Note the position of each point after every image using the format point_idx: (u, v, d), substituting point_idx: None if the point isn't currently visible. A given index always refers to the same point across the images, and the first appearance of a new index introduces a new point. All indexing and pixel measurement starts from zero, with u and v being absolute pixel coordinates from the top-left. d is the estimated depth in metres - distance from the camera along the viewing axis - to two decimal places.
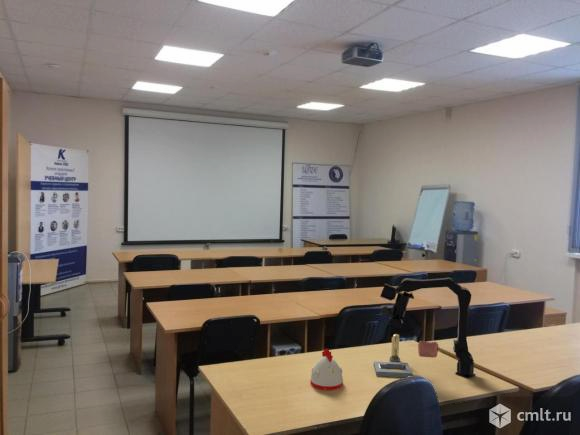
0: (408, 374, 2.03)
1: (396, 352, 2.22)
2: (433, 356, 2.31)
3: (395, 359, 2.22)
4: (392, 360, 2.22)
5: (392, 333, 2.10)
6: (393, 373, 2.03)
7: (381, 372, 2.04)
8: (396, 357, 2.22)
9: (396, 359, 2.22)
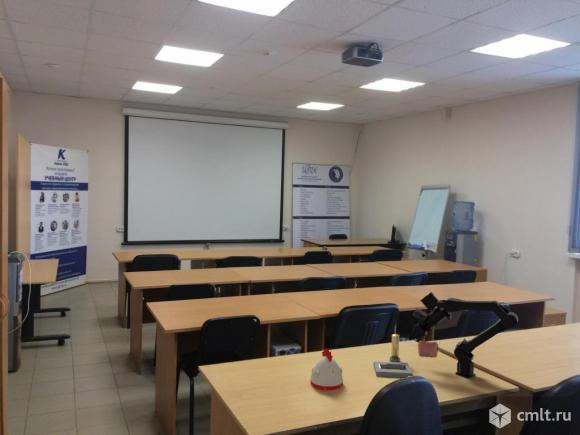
0: (408, 374, 2.03)
1: (396, 352, 2.22)
2: (433, 356, 2.31)
3: (395, 359, 2.22)
4: (392, 360, 2.22)
5: (412, 337, 2.14)
6: (393, 373, 2.03)
7: (381, 372, 2.04)
8: (396, 357, 2.22)
9: (396, 359, 2.22)
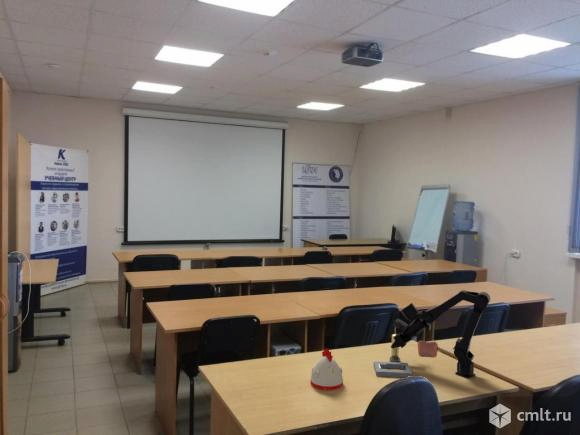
0: (408, 374, 2.03)
1: (396, 352, 2.22)
2: (433, 356, 2.31)
3: (395, 359, 2.22)
4: (392, 360, 2.22)
5: (394, 346, 2.21)
6: (393, 373, 2.03)
7: (381, 372, 2.04)
8: (396, 357, 2.22)
9: (396, 359, 2.22)
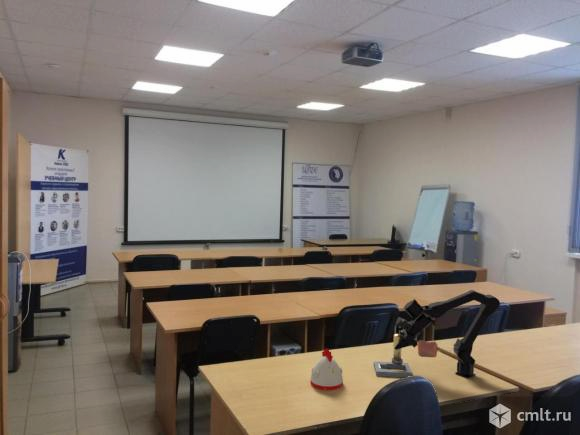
0: (408, 374, 2.03)
1: (400, 353, 2.08)
2: (433, 356, 2.31)
3: (399, 360, 2.08)
4: (396, 362, 2.07)
5: (399, 346, 2.07)
6: (393, 373, 2.03)
7: (381, 372, 2.04)
8: (400, 358, 2.08)
9: (400, 360, 2.08)
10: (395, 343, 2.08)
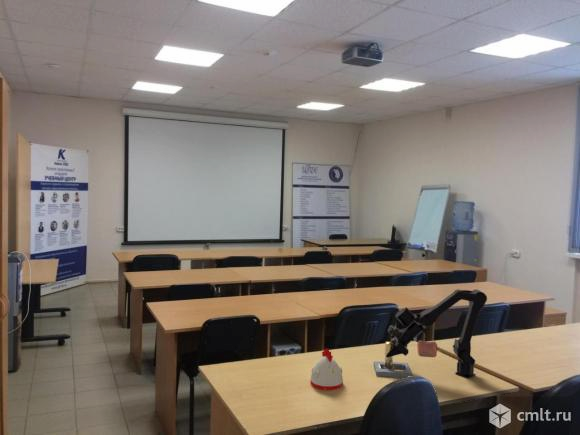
0: (408, 374, 2.03)
1: (391, 361, 2.09)
2: (433, 356, 2.31)
3: (390, 368, 2.08)
4: None
5: (390, 354, 2.07)
6: (393, 373, 2.03)
7: (381, 372, 2.04)
8: (391, 366, 2.09)
9: (391, 368, 2.08)
10: (386, 351, 2.09)
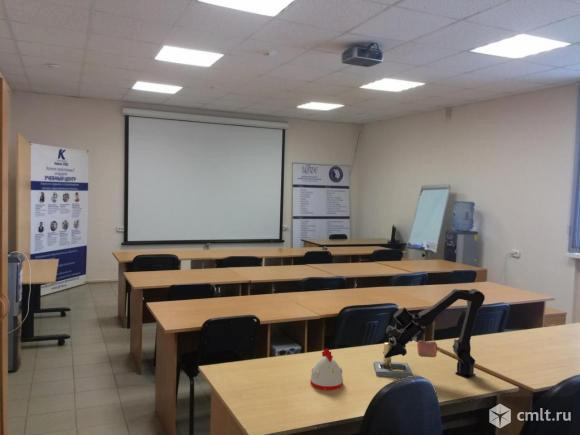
0: (408, 374, 2.03)
1: (390, 361, 2.09)
2: (433, 356, 2.31)
3: (389, 369, 2.08)
4: None
5: (389, 355, 2.07)
6: (393, 373, 2.03)
7: (381, 372, 2.04)
8: (390, 367, 2.09)
9: (390, 369, 2.08)
10: (385, 352, 2.09)
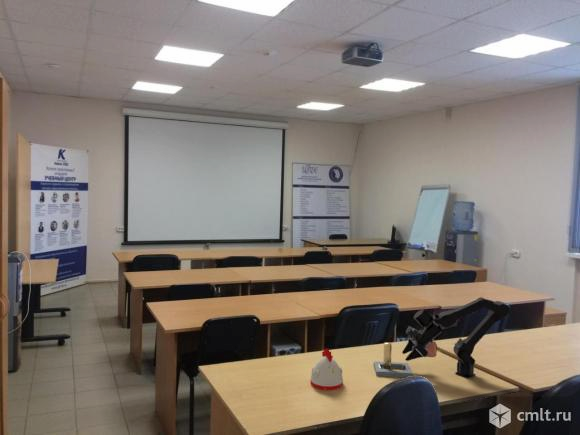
0: (408, 374, 2.03)
1: (390, 361, 2.09)
2: (432, 356, 2.31)
3: (389, 369, 2.08)
4: None
5: (410, 358, 2.04)
6: (393, 373, 2.03)
7: (381, 372, 2.04)
8: (390, 367, 2.09)
9: (390, 369, 2.08)
10: (385, 352, 2.09)
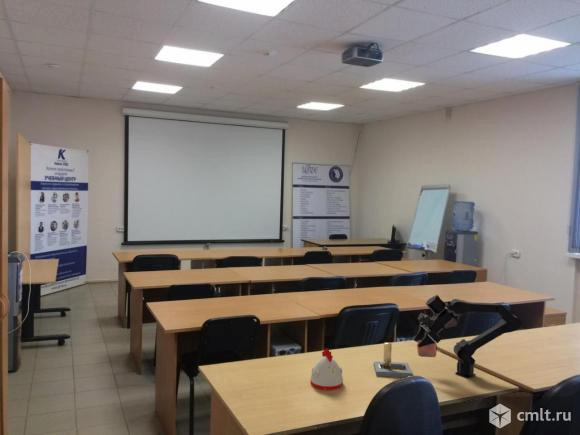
0: (408, 374, 2.03)
1: (390, 361, 2.09)
2: (432, 356, 2.31)
3: (389, 369, 2.08)
4: None
5: (422, 344, 2.03)
6: (393, 373, 2.03)
7: (381, 372, 2.04)
8: (390, 367, 2.09)
9: (390, 369, 2.08)
10: (385, 352, 2.09)
